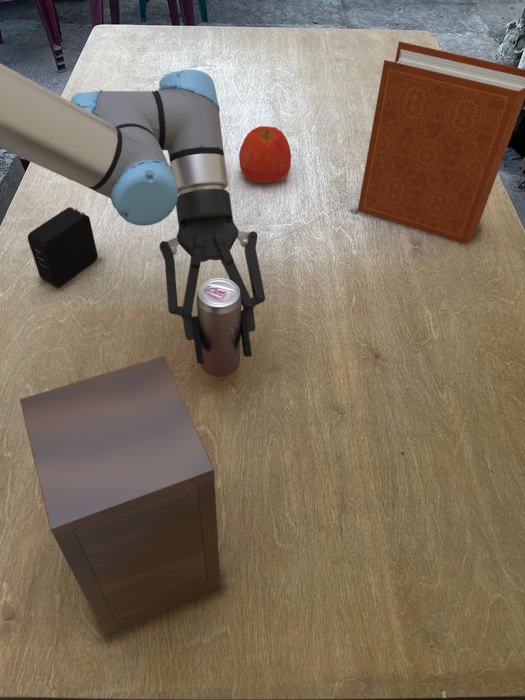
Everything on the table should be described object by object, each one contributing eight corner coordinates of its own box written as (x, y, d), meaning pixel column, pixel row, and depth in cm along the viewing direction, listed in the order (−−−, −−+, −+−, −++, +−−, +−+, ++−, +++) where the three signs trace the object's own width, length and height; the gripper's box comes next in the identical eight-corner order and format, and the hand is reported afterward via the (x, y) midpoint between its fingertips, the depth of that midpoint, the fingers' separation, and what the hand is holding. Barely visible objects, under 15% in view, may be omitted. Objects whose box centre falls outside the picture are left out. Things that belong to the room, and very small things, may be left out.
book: (357, 210, 125) (384, 60, 102) (370, 189, 130) (399, 41, 107) (470, 245, 119) (525, 93, 96) (480, 221, 124) (534, 71, 101)
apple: (250, 195, 127) (251, 148, 119) (230, 167, 133) (230, 121, 125) (298, 184, 130) (302, 137, 122) (276, 157, 136) (278, 111, 128)
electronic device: (40, 279, 109) (25, 234, 101) (82, 250, 114) (71, 204, 107) (57, 289, 107) (43, 244, 100) (98, 259, 113) (89, 213, 105)
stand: (77, 529, 79) (19, 398, 58) (182, 490, 83) (163, 355, 62) (106, 636, 71) (50, 529, 50) (220, 587, 75) (214, 469, 54)
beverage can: (212, 343, 96) (210, 271, 85) (246, 357, 95) (249, 285, 83) (192, 370, 93) (187, 298, 81) (228, 385, 91) (228, 313, 80)
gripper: (264, 191, 91) (284, 348, 93) (132, 204, 87) (155, 367, 89) (274, 180, 83) (296, 351, 85) (131, 194, 80) (156, 372, 82)
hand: (224, 359), depth 87 cm, fingers closed on beverage can, 6 cm apart
